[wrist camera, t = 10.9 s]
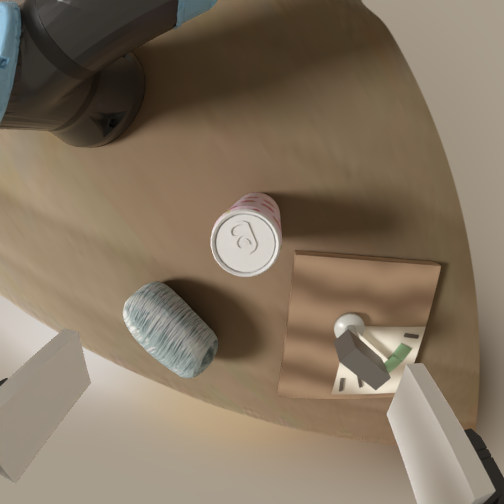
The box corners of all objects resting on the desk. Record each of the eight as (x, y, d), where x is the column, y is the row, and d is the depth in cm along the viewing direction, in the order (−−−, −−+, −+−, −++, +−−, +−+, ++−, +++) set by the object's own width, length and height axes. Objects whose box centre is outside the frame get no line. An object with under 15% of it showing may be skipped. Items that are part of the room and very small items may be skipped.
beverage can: (255, 182, 37) (242, 190, 23) (289, 214, 38) (298, 243, 23) (224, 216, 38) (193, 245, 24) (258, 247, 39) (247, 294, 25)
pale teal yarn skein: (244, 346, 39) (191, 390, 32) (206, 360, 45) (159, 396, 38) (187, 257, 40) (125, 285, 33) (158, 284, 46) (105, 311, 39)
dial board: (294, 250, 39) (295, 255, 37) (434, 261, 38) (442, 266, 35) (277, 388, 45) (277, 398, 42) (397, 389, 44) (401, 397, 41)
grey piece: (321, 322, 39) (332, 367, 29) (343, 301, 38) (362, 341, 28) (372, 366, 40) (391, 411, 30) (393, 347, 39) (418, 391, 29)
